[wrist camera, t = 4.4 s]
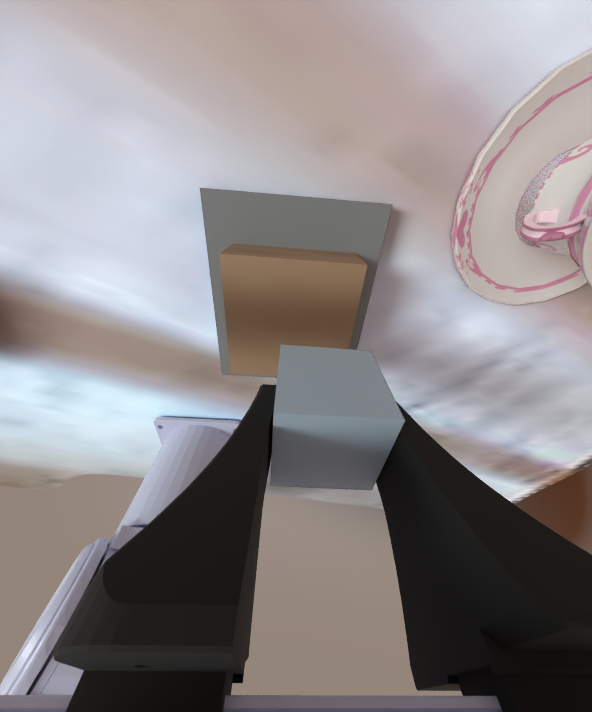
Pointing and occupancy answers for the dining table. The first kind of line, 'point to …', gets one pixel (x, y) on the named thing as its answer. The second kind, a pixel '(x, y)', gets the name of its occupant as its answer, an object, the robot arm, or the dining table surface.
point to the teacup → (551, 206)
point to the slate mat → (290, 237)
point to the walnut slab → (286, 302)
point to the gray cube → (331, 419)
